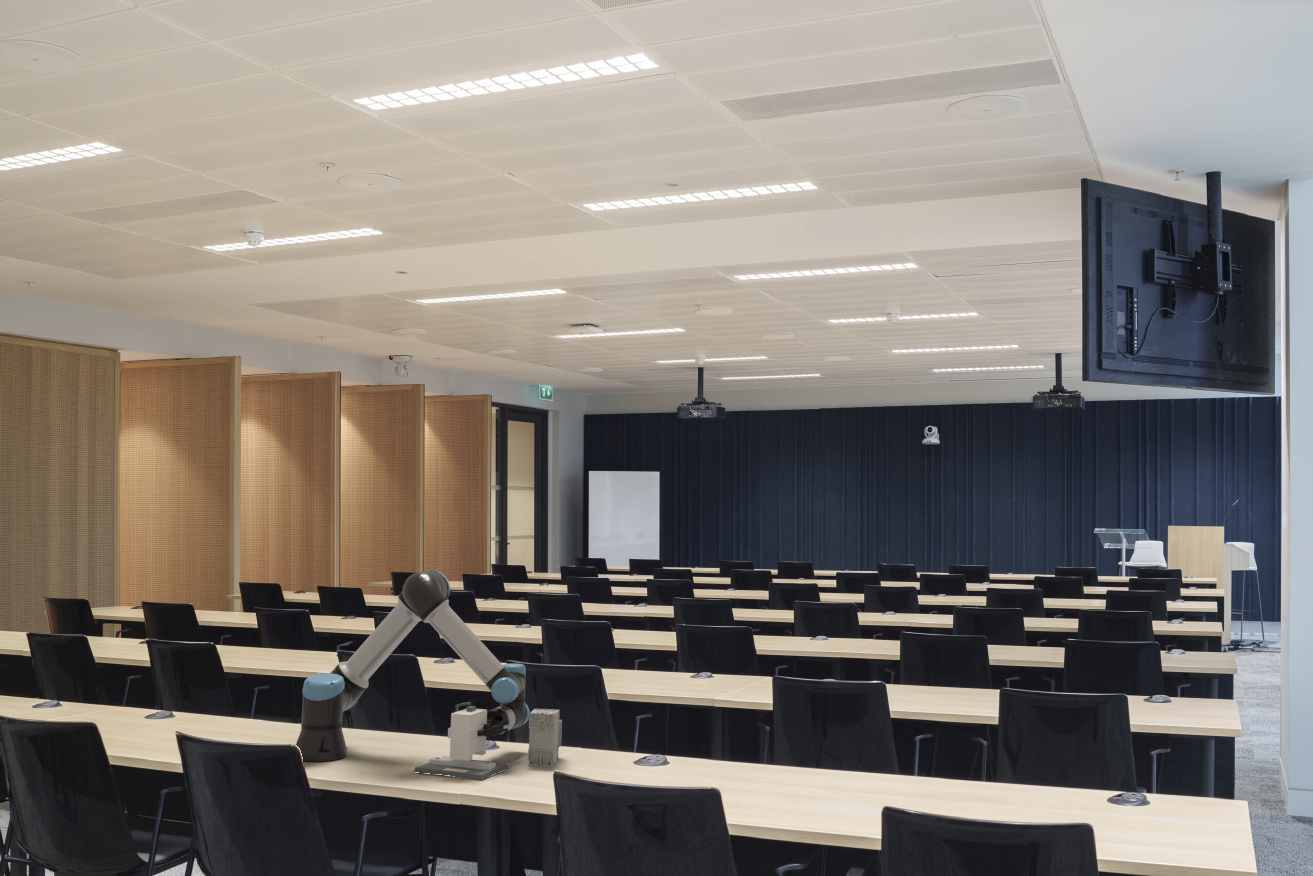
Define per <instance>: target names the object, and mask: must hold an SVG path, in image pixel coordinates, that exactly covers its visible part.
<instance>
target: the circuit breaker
mask: <svg viewBox="0 0 1313 876" xmlns="http://www.w3.org/2000/svg"><path fill="white" fill-rule="evenodd" d="M560 711H561V710H560V709H553V708H551V709H550V708H534V709H533V710H532V711H530V716H529V719H528V721H529V722H528V728H529V734H528V735H529V736H528V737H529V738H528V750H527V752H528V753H527V760H528V763H527V766H533V765H542V766H541V767H554V766H555V765H556V764H555V763H557V762H558V761H559V748H560V747H561V746H562V733H563V731H562V730H563V720H562V719H560V718H561V717H560V714H561V713H560ZM554 764H555V765H554Z"/></svg>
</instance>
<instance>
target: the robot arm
mask: <svg viewBox="0 0 1313 876" xmlns="http://www.w3.org/2000/svg"><path fill="white" fill-rule="evenodd" d="M450 593H451V586H450V581H449V580H448V578H447V577H446V576H445V575H444V573H442V572H440V571H438V570H434V569H426V570H422V571H417V572H415V573H412V574H411V575H410V576H408V577H407V579H406V580H405V581H404V584H403V586H402V591H401V593H399V595H398V596H397V601H398V602H397V604H396V605H395V607H393V608H392V609H391V611H390V612H389V613H388V614H387V615H386V617H385V618H384V619H383V620H381V622H380V624H379V625H378V626H377V627H376V628H375V629H374V630H373V632H371V634H369V636H368V637H367V638H366V639H365V640H364V641H363V642H362V644H361V645H360V646H359V647H358V649H357V650H356V651H355V652H354V653H353V654H352V656H350V658H349V659H348V660H347V661H340V662H339V663H338V664H337V665H336V666H335V667H334V668H333V670H332V671H331V672H330V673H318V674H315V675H314V674H313V675H311V676H308V677H307V678H306V679H305V680H304V682H303V687H302V693H301V694H302V700H301V701H302V702H301V703H302V704H301V724H300V725H301V727H300V733H299V735H298V737H297V741H296V743H295V746H296V745H297V746H298V747H299V748H300V750H301V753H302V757H303V760H304V761H303V762H317V763H318V762H329V761H330V762H331V761H332V762H333V761H337V760H338V761H339V760H341V759H344V758H346V757H347V755H348V746H347V744H346V740H345V739H346V738H345V736H344V732H343V713H344V712H345V711H348V710H351V708H353V707H354V706H356V704H357V703H358V701H359V700H360V698H361V696H362V694H364V692H365V691H366V690H367V689H368V687H369V679H370V678H371V677H372V676H373V675H374V673H375V672H376V671H377V670H378V669H379V667H380V666H381V665H383V663H384V662H385V661H386V660H387V659H388V658H389V657H390V655H391V654H392V653H393V652H394V650H395V649H396V648H398V646H399V645H400V644H401V643H402V642H403V640H404V639H405V638H406V637H407V636H408V635H409V633H411V631H412V630H413V629H414V628H415V627H416V625H417V624H418V623H419V622H423V623H426V624H430V625H431V627H433V629H434V630H435V631H436V632H437V633H438V634H439V635H440V636H441V638H443V639H444V641H445V642H446V643H447V644H448V645H449V646H450V647H451V649H452V650H453V651H454V652H455V653H456V654H457V655H458V656H459V657H460V659H461V660H463V662H464V663H465V664H466V665H467V666H468V668H469V669H471V671H472V672H473V673H474V674H475V675H476V676H477V677H478V678H479V680H481V682H482V683H483V684H484V685H485V686H486V687H487V689H488V690H489V691H490V693H491V696H492V698H493V700H494V701H495V702H497V703H499V704H500V706H497V707H495V708H492V709H489V710H487V724H484V729H483V727H482V726H480V727H477V728H474V729H472V730H469V740H474V739H476V738H479V737H482V736H486V737H487V736H491V737H495V736H499V735H503V734H504V733H505V732H508V731H511V730H513V729H517V728H520V727H522V726H523V725H525V724H526V723H527V722H528V721H529V718H530V712H531V711H530V708H529V705H528V704H527V703H526V697H525V696H526V677H527V673H526V666H525V665H524V664H522V663H506V664H502V663H501V661H499V659H497V657H496V656H495V655H494V653H492V652H491V650H490V649H489V648H488V647H487V646H486V645H485V644H484V643H483V641H481V640H480V638H479V637H478V636H477V635H476V634H475V633H474V632H473V631H472V630H471V628H469V626H467V624H466V623H465V622H464V621H463V620H462V618H461V617H460V616H459V615H458V614H457V613H456V612H455V611H454V610H453V608H451V606H450V604H449V603H450V600H449V599H448V598H449V597H450ZM450 738H451V727H449V728H447V739H450Z"/></svg>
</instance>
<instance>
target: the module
mask: <svg viewBox="0 0 1313 876" xmlns="http://www.w3.org/2000/svg"><path fill="white" fill-rule="evenodd" d="M487 711H488V709H487V708H486V709H483V708H477V706H475V705H470V706H467V707H466V708H464V709H462V710H458V711H454V712H452V713H451V715H450V728H451V738H449V741H450V743H449V757H450V759H457V760H467V761H469V760H473V755H479V756H484V755H486V754H487V753H486V752H487V736H482V737H479V738H476V739H474V740H469V730H472V729H474V728H477V727H480V726H482V727H483V729H484V724H487Z"/></svg>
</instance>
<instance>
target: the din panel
mask: <svg viewBox="0 0 1313 876" xmlns="http://www.w3.org/2000/svg"><path fill="white" fill-rule="evenodd" d="M428 761H429V762H427V763H423V764H421V765H418V766H416V767H414V773H415V772H419V773H430V774H442V775H450V776H455V777H462V778H461V779H464V778H469V779H468V780H473V779H477V780H476V781H484V780H485V778H486V779H488V778H490V777H489V776H491V775H493V774H495V773H497V774H499V773H498V772H500V771H502V772H504V771H506V770H509V763H508V762H498V761H489V760H481V759H480V760H479V759H472V760H469V761H467V760H457V759H450V756H435V757H432V758H429V760H428ZM505 769H506V770H505ZM503 770H504V771H503ZM419 773H418V774H419ZM500 773H501V772H500ZM495 775H496V774H495ZM493 776H494V775H493ZM455 777H454V778H455ZM487 777H488V778H487ZM491 777H492V776H491ZM483 779H484V780H483Z"/></svg>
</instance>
